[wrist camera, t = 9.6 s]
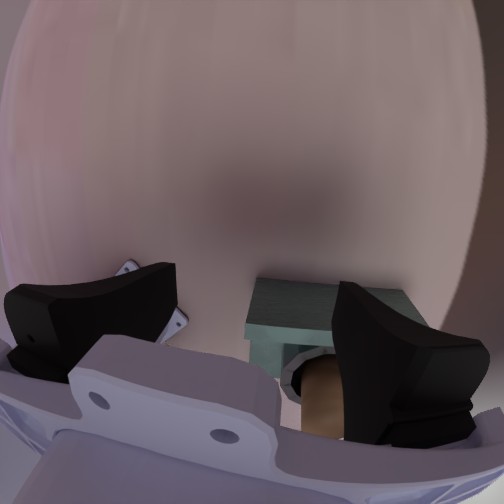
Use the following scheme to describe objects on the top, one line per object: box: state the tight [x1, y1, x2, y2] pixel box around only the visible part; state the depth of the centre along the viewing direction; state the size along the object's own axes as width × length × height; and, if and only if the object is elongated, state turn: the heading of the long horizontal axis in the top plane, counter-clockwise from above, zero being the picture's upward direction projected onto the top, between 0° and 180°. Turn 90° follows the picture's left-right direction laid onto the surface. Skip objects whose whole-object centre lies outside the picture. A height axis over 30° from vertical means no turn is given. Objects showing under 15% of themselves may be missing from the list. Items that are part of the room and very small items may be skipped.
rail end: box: [301, 354, 344, 439], centre depth 19 cm, size 4×4×8 cm
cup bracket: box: [244, 278, 429, 404], centre depth 21 cm, size 10×13×7 cm
